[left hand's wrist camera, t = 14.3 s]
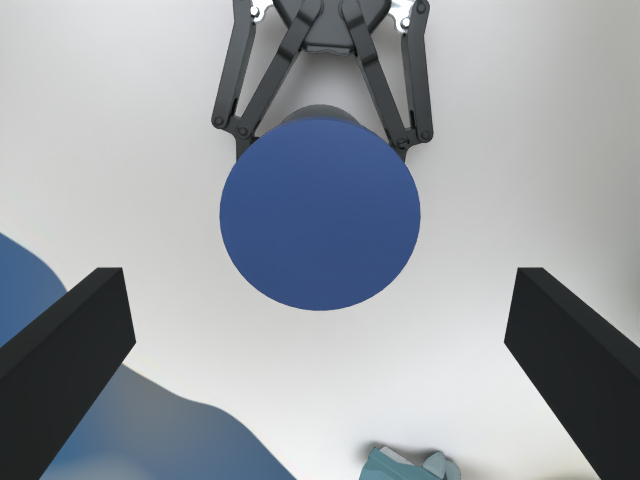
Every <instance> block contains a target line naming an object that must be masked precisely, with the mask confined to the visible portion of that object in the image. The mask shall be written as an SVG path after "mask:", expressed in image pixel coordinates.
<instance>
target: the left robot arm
mask: <svg viewBox="0 0 640 480" xmlns="http://www.w3.org/2000/svg"><path fill="white" fill-rule="evenodd" d="M135 343H136V339H135V334H134V328H133V323H132V318H131V312H130V307H129V301H128V296H127V291H126V285H125V280H124V275H123V269H122V268H96V269H95V270H94V271H93V272H92V273H90V274H89V275H88V276H87V277H86V278H84V279H83V280H82V281H81V282H80V283H78V284H77V285H76V286H75V287H74V288H72V289H71V290H70V291H69V292H67V293H66V294H65V295H64V296H63V297H61V298H60V299H59V300H58V301H57V302H55V303H54V304H53V305H52V306H51V307H49V308H48V309H47V310H46V311H45V312H43V313H42V314H41V315H40V316H38V317H37V318H36V319H35V320H34V321H32V322H31V323H30V324H29V325H28V326H26V327H25V328H24V329H23V330H22V331H20V332H19V333H18V334H17V335H16V336H14V337H13V338H12V339H11V340H10V341H8V342H7V343H6V344H5V345H3V346H2V347H1V348H0V480H39V479H40V477H41V476H42V474H43V473H44V472H45V470H46V469H47V468H48V466H49V465H50V463H51V462H52V460H53V459H54V458H55V456H56V455H57V453H58V452H59V451H60V449H61V448H62V446H63V445H64V444H65V442H66V441H67V439H68V438H69V437H70V435H71V434H72V432H73V431H74V429H75V428H76V427H77V425H78V424H79V422H80V421H81V419H82V418H83V417H84V415H85V414H86V413H87V411H88V410H89V408H90V407H91V406H92V404H93V403H94V401H95V400H96V398H97V397H98V396H99V394H100V393H101V391H102V390H103V389H104V387H105V386H106V384H107V383H108V382H109V380H110V379H111V377H112V376H113V375H114V373H115V372H116V370H117V369H118V367H119V366H120V365H121V363H122V362H123V360H124V359H125V358H126V356H127V355H128V353H129V352H130V351H131V349H132V348H133V346H134V345H135ZM504 343H505V345H506V346H507V348H508V349H509V351H510V352H511V353H512V355H513V356H514V358H515V359H516V360H517V362H518V363H519V365H520V366H521V367H522V369H523V370H524V372H525V373H526V375H527V376H528V377H529V379H530V380H531V382H532V383H533V384H534V386H535V387H536V389H537V390H538V391H539V393H540V394H541V396H542V397H543V398H544V400H545V401H546V403H547V404H548V406H549V407H550V408H551V410H552V411H553V413H554V414H555V415H556V417H557V418H558V420H559V421H560V422H561V424H562V425H563V427H564V428H565V429H566V431H567V432H568V434H569V435H570V437H571V438H572V439H573V441H574V442H575V444H576V445H577V446H578V448H579V449H580V451H581V452H582V453H583V455H584V456H585V458H586V459H587V460H588V462H589V463H590V465H591V466H592V468H593V469H594V470H595V472H596V473H597V475H598V476H599V477H600V479H601V480H640V348H639V347H638V346H637V345H635V344H634V343H633V342H632V341H631V340H629V339H628V338H627V337H626V336H624V335H623V334H622V333H621V332H620V331H618V330H617V329H616V328H615V327H614V326H612V325H611V324H610V323H609V322H608V321H606V320H605V319H604V318H603V317H602V316H600V315H599V314H598V313H597V312H595V311H594V310H593V309H592V308H591V307H589V306H588V305H587V304H586V303H585V302H583V301H582V300H581V299H580V298H579V297H577V296H576V295H575V294H574V293H573V292H571V291H570V290H569V289H568V288H566V287H565V286H564V285H563V284H562V283H560V282H559V281H558V280H557V279H556V278H554V277H553V276H552V275H551V274H550V273H548V272H547V271H546V270H545V269H544V268H518V269H517V275H516V280H515V285H514V291H513V296H512V301H511V307H510V312H509V318H508V323H507V328H506V334H505V339H504Z"/></svg>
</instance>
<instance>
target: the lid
mask: <svg viewBox="0 0 640 480" xmlns="http://www.w3.org/2000/svg"><path fill="white" fill-rule="evenodd" d="M220 227H221V233H222V237H223V241H224V244H225V247H226V249H227V252H228V254H229V256H230V258H231V260H232V262H233V264H234V265H235V266H236V268H237V269H238V271H239V272H240V273H241V274H242V276H243V277H244V278H245V279H246V280H247V281H248V282H249V283H250V284H251V285H252V286H254V287H255V288H256V289H257V290H258V291H260V292H261V293H263V294H264V295H266V296H268V297H269V298H271V299H273V300H275V301H277V302H279V303H282V304H285V305H288V306H291V307H295V308H299V309H305V310H314V311H326V310H335V309H341V308H345V307H349V306H352V305H355V304H358V303H361V302H363V301H365V300H367V299H369V298H371V297H373V296H374V295H376V294H377V293H379V292H380V291H382V290H383V289H384V288H385V287H386V286H388V285H389V284H390V283H391V282H392V281H393V280H394V279H395V278H396V277H397V276H398V275H399V273H400V272H401V271H402V269H403V268H404V266H405V265H406V264H407V262H408V260H409V258H410V256H411V254H412V252H413V249H414V247H415V244H416V242H417V237H418V233H419V227H420V202H419V197H418V192H417V189H416V186H415V183H414V180H413V178H412V176H411V174H410V172H409V170H408V168H407V166H406V165H405V163H404V162H403V161H402V159H401V158H400V156H399V155H398V154H397V153H396V152H395V151H394V150H393V149H392V148H391V147H390V146H389V145H388V144H387V143H386V142H385V141H384V140H382V139H381V138H380V137H379V136H377V135H376V134H375V133H374V132H372V131H370V130H369V129H367V128H365V127H364V126H361V125H359V124H357V123H354V122H352V121H349V120H345V119H342V118H337V117H329V116H311V117H303V118H298V119H295V120H291V121H288V122H286V123H283V124H281V125H279V126H276V127H275V128H273V129H271V130H270V131H268V132H267V133H265V134H264V135H263V136H261V137H260V138H259V139H258V140H256V141H255V142H254V143H253V144H252V145H251V146H250V147H249V148H248V149H247V150H246V151H245V152H244V153H243V154H242V155H241V156H240V158H239V159H238V161H237V162H236V164H235V165H234V166H233V168H232V170H231V172H230V174H229V176H228V178H227V180H226V183H225V186H224V189H223V192H222V197H221V203H220Z"/></svg>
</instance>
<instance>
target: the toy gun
mask: <svg viewBox="0 0 640 480" xmlns="http://www.w3.org/2000/svg"><path fill="white" fill-rule="evenodd" d="M359 480H461V473H460V470H459V468H458V467H457V465H456V464H455V463H452V462H450V461H448V460H446V459H445V455H444V454H442V453H441V452H439V451H438V452H437V453H435V454H433V455H432V456H430V457H429V458H427V459H426V461H425V462H424V463H423V464H422V467H420V466H416V465H414V464H412V463H411V462H409V461H407V460H406V459H404V458H403V457H401V456H400V455H398V454H397V453H395V452H394V451H392V450H391V449H389V448H388V447H386V446H384V447H383V448H382V449H380V450H378V449H376V448H375V447H374V449H373V450H372V451H371V453H370V455H369V458H368V461H367V462H366V464H365V465H364V467H363V468H362V471H361V475H360V478H359Z"/></svg>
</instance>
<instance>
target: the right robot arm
mask: <svg viewBox="0 0 640 480" xmlns="http://www.w3.org/2000/svg"><path fill="white" fill-rule="evenodd" d="M270 7H275V8H276V10H277V12H278V13H279V15H280V17H281V19H282V20H283V22H284V24H285V25H286V27H287V29H288V32H287V33H286V35H285V37H284V39H283V41H282V43H281V44H280V46H279V48H278V51H277V53H276V55H275V57H274V59H273V61H272V63H271V64H270V66H269V68H268V70H267V72H266V73H265V75H264V77H263V79H262V81H261V83H260V84H259V86H258V88H257V90H256V92H255V93H254V95H253V97H252V99H251V101H250V103H249V104H248V106H247V108H246V110H245V112H244V113H243V115H242V117H241V118H240V117H238V116H236V115H235V112H236V108H237V104H238V100H239V96H240V92H241V88H242V84H243V81H244V77H245V73H246V69H247V65H248V61H249V57H250V53H251V50H252V46H253V42H254V38H255V33H256V24H257V23H261V22H262V21H263V20H264V19H265V14H266V11H267V10H268V9H269V8H270ZM233 10H234V26H233V30H232V34H231V39H230V43H229V47H228V51H227V55H226V59H225V64H224V68H223V72H222V76H221V80H220V85H219V89H218V93H217V97H216V101H215V105H214V110H213V114H212V118H211V122H212V125H213V126H214V127H215V128H217V129H222V130H224V131H227V132H229V133H231V134H232V135H233V136H234V137H235V139H236V162H237V161H238V159H239V158H240V156H241V155H242V154H243V153H244V152H245V151H246V150H247V149H248V148H249V147H250V146H251V145H252V144H253V143H254V142H255V141H256V140H258V139H259V138H260V137H254V133H255V132H256V129H257V127H258V125H259V123H260V122H261V120H262V118H263V116H264V115H265V113H266V111H267V109H268V108H269V106H270V104H271V102H272V101H273V99H274V97H275V95H276V93H277V92H278V90H279V88H280V86H281V85H282V83H283V81H284V79H285V78H286V76H287V74H288V72H289V71H290V69H291V67H292V65H293V64H294V62H295V61H296V59H297V57H298V56H299V54H300V52H301V50H304V51H306V52H307V53H313V54H319V53H324V52H330V53H333V54H336V55H340V56H348V55H351V54H354V56H355V59H356V61H357V64H358V66H359V68H360V70H361V72H362V75H363V77H364V80H365V82H366V85H367V87H368V90H369V92H370V95H371V97H372V100H373V102H374V105H375V107H376V110H377V112H378V115H379V117H380V120H381V122H382V125H383V127H384V130H385V132H386V135H387V137H388V140H389V146H390V147H391V148H392V149H393V150H394V151H395V152H396V153H397V154H398V155H399V156H400V158H401V159H402V161H403V162H404V163H405V157H406V152H407V150H408V149H409V148H410V147H411V146H413V145H416V144H420V143H427V142H429V141H431V140H432V138H433V125H432V115H431V105H430V94H429V84H428V74H427V64H426V54H425V44H424V33H425V28H426V23H427V19H428V14H429V10H430V5H429V2H428V1H427V0H416V1H415V2H413V1H407V0H233ZM386 15H388V16H390V17H392V19H393V21H394V29H395V31H396V32H397V33H398V34H402V36H401V50H402V58H403V67H404V75H405V84H406V92H407V101H408V110H409V118H410V128H406V129H405V128H404V126H403V123H402V120H401V118H400V115H399V113H398V110H397V107H396V105H395V102H394V99H393V97H392V94H391V92H390V89H389V86H388V84H387V81H386V78H385V76H384V73H383V71H382V68H381V65H380V63H379V60H378V55H377V52H376V49H375V47H374V44H373V41H372V39H371V34H372V33H373V32H374V31H375V29H376V28H377V27H378V26H379V24H380V23H381V22H382V20H383V19H384V18H385V17H386Z"/></svg>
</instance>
